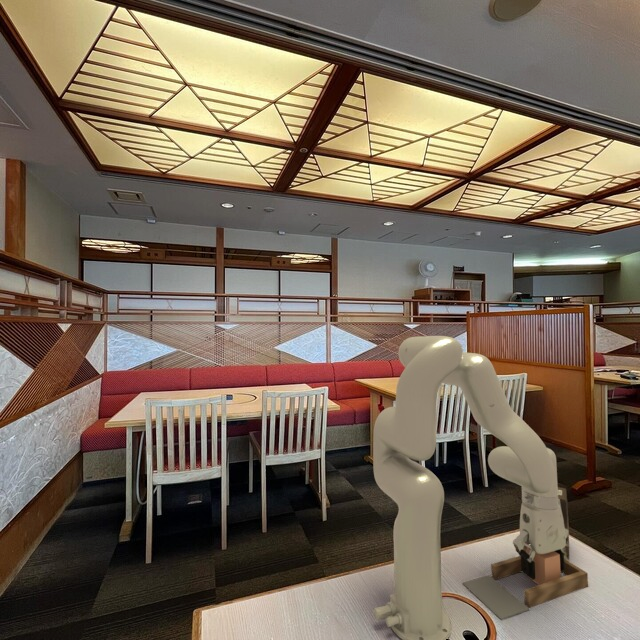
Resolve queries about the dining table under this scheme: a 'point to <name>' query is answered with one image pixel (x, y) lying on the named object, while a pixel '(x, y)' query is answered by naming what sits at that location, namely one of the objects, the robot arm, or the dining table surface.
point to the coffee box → (564, 516)
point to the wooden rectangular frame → (547, 590)
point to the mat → (495, 597)
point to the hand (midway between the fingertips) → (543, 570)
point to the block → (546, 567)
